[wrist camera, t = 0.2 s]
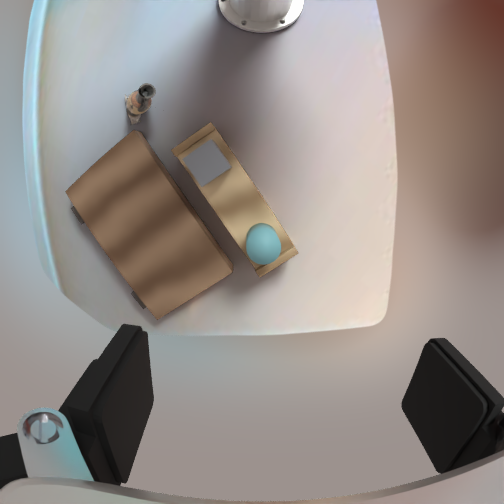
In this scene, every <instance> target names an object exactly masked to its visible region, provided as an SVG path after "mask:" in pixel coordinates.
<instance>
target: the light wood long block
mask: <svg viewBox="0 0 504 504" xmlns="http://www.w3.org/2000/svg"><path fill="white" fill-rule="evenodd" d="M210 139H212V140H213V141H215V143H216V144H217V146H218V147H219V149H220V150H221V152H222V153H223V154H224V156H225V157H226V159H227V160H228V162H229V163H230V165H231V166H232V167H231V168H230V169H228V170H227V171H226V172H224V173H223V174H221V175H220V176H218V177H217V178H215V179H214V180H212V181H211V182H209V183H208V184H206V185H205V186H203V187H201V186H200V184H199V183H198V181H197V180H196V178H195V177H194V175H193V174H192V173H191V171H190V170H189V168H188V167H187V165H186V164H185V162H184V161H183V160H182V159H183V158H185V157H186V156H187V155H189V154H190V153H192V152H193V151H194V150H196V149H197V148H199V147H200V146H202V145H203V144H204V143H206V142H207V141H209V140H210ZM171 151H172V152H173V154H174V155H175V157H178V159H179V160H180V162H181V163H182V165H183V166H184V167H185V169H186V170H187V172H188V173H189V175H190V176H191V178H192V179H193V180H194V182H195V183H196V185H197V186H198V188H199V189H200V191H201V192H202V193H203V195H204V196H205V198H206V199H207V201H208V202H209V204H210V205H211V206H212V208H213V209H214V211H215V212H216V214H217V215H218V216H219V218H220V219H221V221H222V222H223V224H224V225H225V227H226V228H227V229H228V231H229V232H230V234H231V235H232V237H233V238H234V239H235V241H236V242H237V244H238V245H239V247H240V248H241V249H242V251H243V252H244V254H245V255H246V257H247V258H248V259H249V261H250V262H251V264H252V265H253V267H254V268H255V271H256V273H257V274H258V276H259V277H262V276H263V275H265V274H266V273H268V272H270V271H271V270H273V269H274V268H276V267H278V266H279V265H281V264H282V263H284V262H285V261H287V260H289V259H290V258H292V257H293V256H295V255H296V254H298V251H297V250H296V248H295V246H294V245H293V243H292V241H291V240H290V238H289V237H288V235H287V234H286V232H285V230H284V229H283V227H282V226H281V224H280V223H279V221H278V220H277V218H276V217H275V215H274V214H273V212H272V211H271V209H270V207H269V206H268V204H267V203H266V201H265V200H264V198H263V197H262V195H261V194H260V192H259V191H258V189H257V188H256V186H255V185H254V183H253V182H252V180H251V179H250V178H249V176H248V175H247V173H246V172H245V170H244V169H243V167H242V166H241V164H240V163H239V161H238V160H237V158H236V157H235V156H234V154H233V153H232V151H231V150H230V148H229V147H228V145H227V144H226V142H225V141H224V140H223V138H222V137H221V135H220V134H219V132H218V131H217V130H216V128H215V127H214V126H213V124H212V123H211V122H210V123H209V124H207V125H206V126H205V127H203V128H202V129H200V130H199V131H197V132H196V133H194V134H193V135H192V136H190V137H189V138H187V139H186V140H184V141H183V142H182V143H180V144H179V145H178V146H176V147H175V148H173V149H172V150H171ZM258 223H266V224H268V225H270V226H272V227H273V228H274V230H275V231H276V234H277V236H278V238H279V240H280V243H281V252H280V255H279V256H278V258H277V259H276V260H275V261H274V262H272V263H270V264H265V265H262V264H257V263H255V262H253V261H252V260H251V259H250V258H249V256H248V254H247V250H246V236H247V232H248V230H249V229H250V228H251V227H252V226H253V225H255V224H258Z"/></svg>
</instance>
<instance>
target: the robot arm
mask: <svg viewBox="0 0 504 504" xmlns="http://www.w3.org/2000/svg"><path fill="white" fill-rule="evenodd" d="M223 1H224V2H223ZM218 3H219V8H220V11H221V13H222V14H223V16H224V17H225V18H226V19H227V21H229V22H230V23H231V24H233V25H234V26H236V27H238V28H240V29H243V30H246V31H250V32H255V33H268V32H275V31H279V30H282V29H284V28H286V27H288V26H289V25H291V24H293V23H294V22H295V21H296V20H297V19H298V17H299V15H300V14H301V11H302V9H303V3H304V1H303V0H218ZM281 23H283V24H281ZM243 24H245V25H243ZM153 401H154V395H153V387H152V377H151V368H150V357H149V345H148V334H147V332H145V331H142V328H141V326H135V325H128V324H123V325H122V326H121V327H120V329H119V330H118V332H117V333H116V334H115V336H114V337H113V339H112V340H111V341H110V343H109V344H108V346H107V347H106V348H105V350H104V351H103V353H102V354H101V356H100V357H99V358H98V359H95V360H93V361H92V362H91V364H90V365H89V366H88V368H87V369H86V371H85V372H84V374H83V375H82V377H81V378H80V379H79V381H78V382H77V384H76V385H75V387H74V388H73V390H72V391H71V392H70V394H69V395H68V397H67V398H66V400H65V402H64V403H63V405H62V406H61V407H60V409H59V411H57V410H54V409H51V408H37V409H34V410H31V411H29V412H27V413H26V414H24V415H23V416H22V418H21V419H20V420H19V423H18V426H17V433H15V434H10V435H6V436H2V437H0V504H504V413H503V412H502V411H501V410H502V408H503V407H504V398H503V397H502V396H501V394H500V393H498V391H497V390H496V389H495V388H494V387H493V386H492V385H491V384H490V383H489V382H488V381H487V380H486V379H485V377H484V376H483V375H482V374H481V373H480V372H479V371H478V370H477V369H476V368H475V367H474V366H473V365H472V364H471V363H470V362H469V361H468V360H467V359H466V358H465V357H464V356H463V355H462V354H461V353H460V352H459V351H458V350H457V349H456V348H455V347H454V346H453V345H452V344H451V343H450V342H449V341H448V340H447V339H445V338H434V339H430V340H429V341H428V343H426V344H425V346H424V348H423V350H422V353H421V356H420V359H419V361H418V364H417V366H416V369H415V372H414V374H413V377H412V379H411V381H410V384H409V386H408V389H407V391H406V393H405V396H404V398H403V400H402V410H403V412H404V413H405V415H406V417H407V418H408V420H409V422H410V424H411V425H412V427H413V429H414V431H415V432H416V434H417V436H418V438H419V440H420V441H421V443H422V445H423V446H424V449H425V450H426V452H427V454H428V456H429V458H430V460H431V462H432V463H433V465H434V467H435V469H436V471H437V472H438V473H441V474H439V475H436V476H433V477H430V478H426V479H423V480H419V481H415V482H412V483H408V484H404V485H400V486H395V487H391V488H387V489H382V490H377V491H371V492H366V493H360V494H354V495H347V496H340V497H332V498H322V499H311V500H296V501H270V502H269V501H268V502H266V501H265V502H264V501H262V502H261V501H260V502H259V501H227V500H214V499H202V498H192V497H183V496H176V495H168V494H162V493H155V492H150V491H145V490H139V489H133V488H128V487H122V486H120V484H121V483H126V482H127V481H128V478H129V475H130V472H131V469H132V466H133V462H134V460H135V456H136V453H137V450H138V447H139V444H140V441H141V438H142V435H143V432H144V430H145V427H146V424H147V421H148V418H149V415H150V412H151V409H152V406H153Z"/></svg>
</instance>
